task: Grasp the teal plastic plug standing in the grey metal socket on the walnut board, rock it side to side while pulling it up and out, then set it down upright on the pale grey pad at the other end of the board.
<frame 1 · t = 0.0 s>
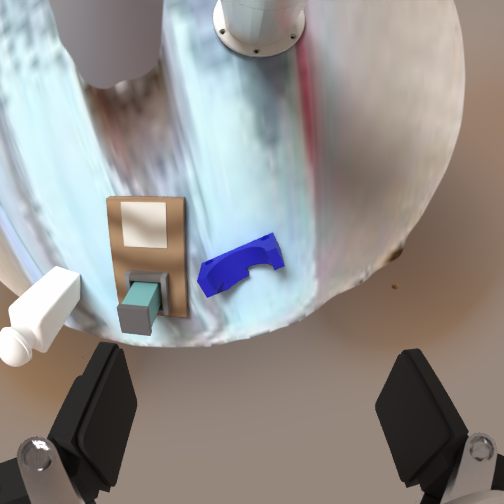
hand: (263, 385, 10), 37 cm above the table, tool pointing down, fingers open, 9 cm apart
cable clip: (242, 259, 49), on the table
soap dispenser: (68, 282, 49), on the table
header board: (149, 257, 48), on the table
plug: (149, 289, 48), point 1 cm above the table, touching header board
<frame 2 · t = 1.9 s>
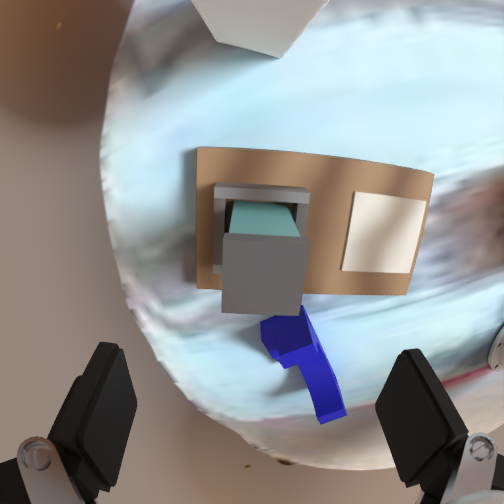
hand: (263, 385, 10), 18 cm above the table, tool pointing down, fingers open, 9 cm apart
cable clip: (301, 351, 32), on the table
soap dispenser: (258, 22, 20), on the table
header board: (316, 224, 26), on the table
plug: (258, 226, 25), point 1 cm above the table, touching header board
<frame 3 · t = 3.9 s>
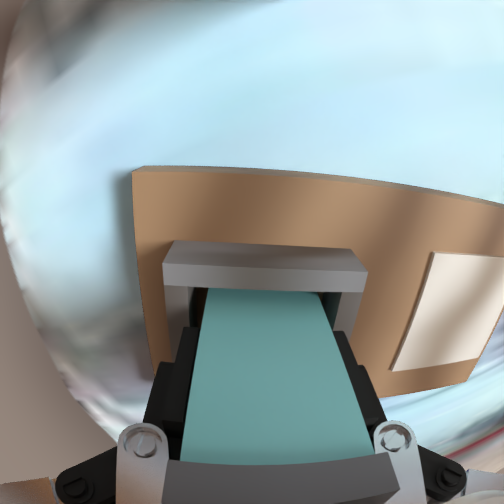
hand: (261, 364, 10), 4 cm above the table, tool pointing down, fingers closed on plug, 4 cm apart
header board: (357, 301, 15), on the table
plug: (258, 318, 13), point 2 cm above the table, touching gripper, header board
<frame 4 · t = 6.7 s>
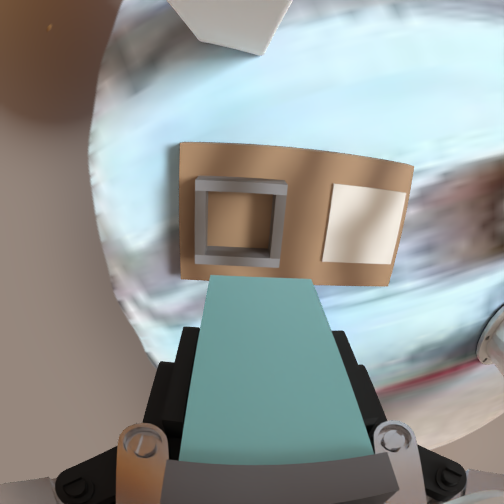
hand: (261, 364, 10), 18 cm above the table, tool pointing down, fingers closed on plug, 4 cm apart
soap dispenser: (240, 21, 20), on the table
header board: (296, 216, 27), on the table
plug: (257, 318, 13), point 15 cm above the table, touching gripper
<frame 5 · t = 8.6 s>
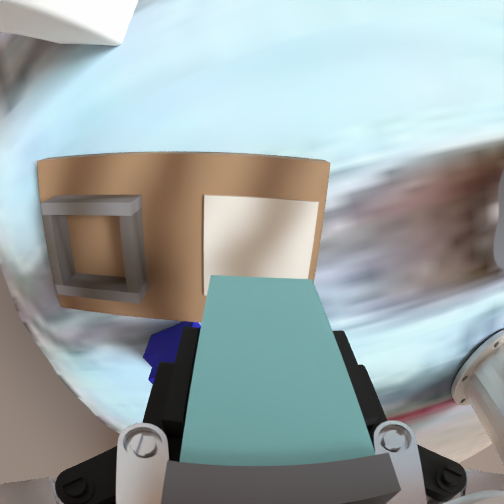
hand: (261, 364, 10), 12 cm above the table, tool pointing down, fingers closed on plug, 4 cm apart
cable clip: (210, 370, 27), on the table
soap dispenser: (102, 11, 15), on the table
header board: (171, 237, 21), on the table
plug: (258, 318, 13), point 9 cm above the table, touching gripper
when the fingers open (6 cm above the table, at t = 10.0 s): plug drops 1 cm, resting on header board.
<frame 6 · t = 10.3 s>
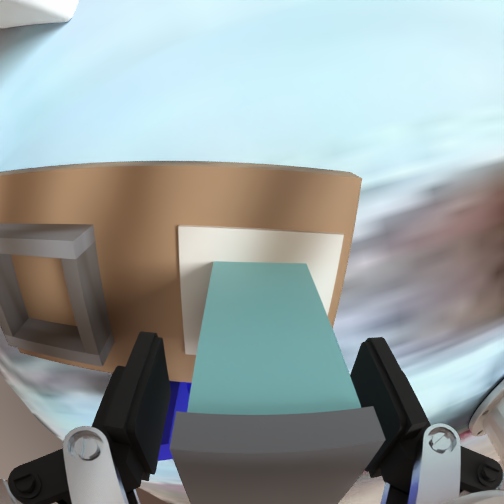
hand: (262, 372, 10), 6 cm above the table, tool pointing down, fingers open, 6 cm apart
cable clip: (206, 420, 21), on the table
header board: (140, 277, 15), on the table
plug: (258, 301, 14), point 2 cm above the table, touching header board
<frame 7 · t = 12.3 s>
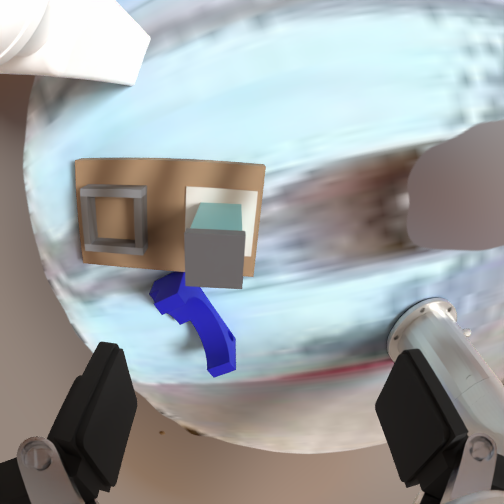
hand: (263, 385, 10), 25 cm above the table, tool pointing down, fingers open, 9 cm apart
cable clip: (196, 310, 38), on the table
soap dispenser: (120, 58, 25), on the table
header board: (165, 213, 32), on the table
plug: (220, 222, 31), point 2 cm above the table, touching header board
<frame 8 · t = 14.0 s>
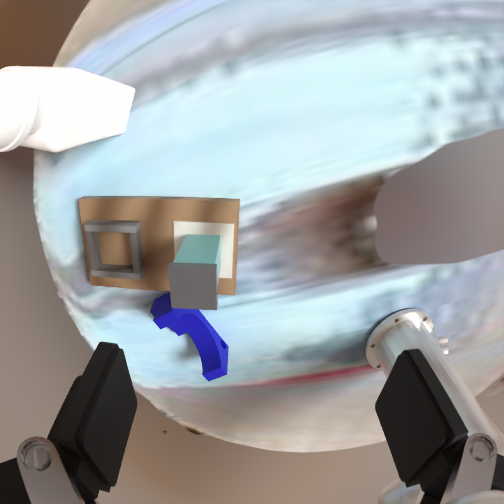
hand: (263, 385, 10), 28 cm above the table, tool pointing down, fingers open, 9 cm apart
cable clip: (193, 323, 43), on the table
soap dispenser: (110, 107, 31), on the table
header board: (157, 243, 38), on the table
plug: (203, 250, 36), point 2 cm above the table, touching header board
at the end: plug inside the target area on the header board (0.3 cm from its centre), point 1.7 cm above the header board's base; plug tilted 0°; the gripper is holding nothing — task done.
